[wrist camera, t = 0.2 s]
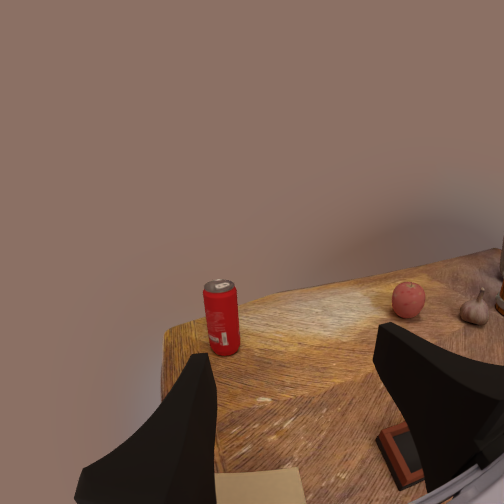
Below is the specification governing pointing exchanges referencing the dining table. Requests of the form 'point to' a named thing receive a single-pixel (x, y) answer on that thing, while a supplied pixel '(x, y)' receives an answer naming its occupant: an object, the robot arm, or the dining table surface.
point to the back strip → (401, 455)
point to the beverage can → (222, 316)
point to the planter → (502, 260)
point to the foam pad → (260, 487)
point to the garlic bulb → (475, 310)
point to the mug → (500, 299)
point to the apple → (408, 299)
